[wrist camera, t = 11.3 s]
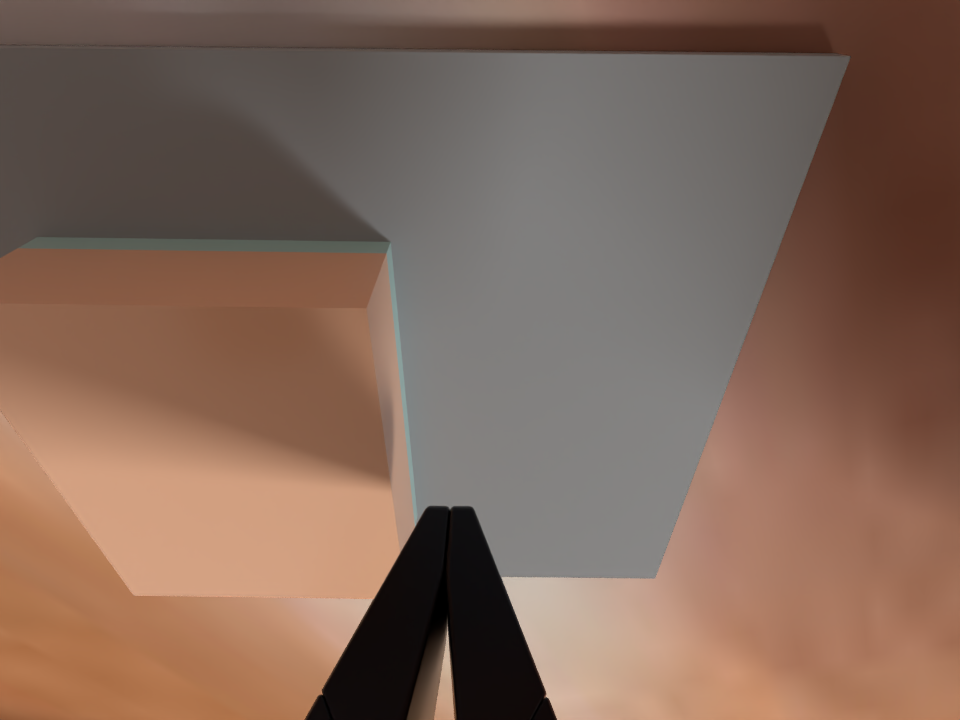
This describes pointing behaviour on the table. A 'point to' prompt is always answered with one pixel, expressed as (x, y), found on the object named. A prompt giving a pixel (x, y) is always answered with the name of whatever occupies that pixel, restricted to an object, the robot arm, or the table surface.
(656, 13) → the table surface
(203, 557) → the tile
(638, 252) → the mat
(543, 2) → the table surface
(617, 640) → the table surface
